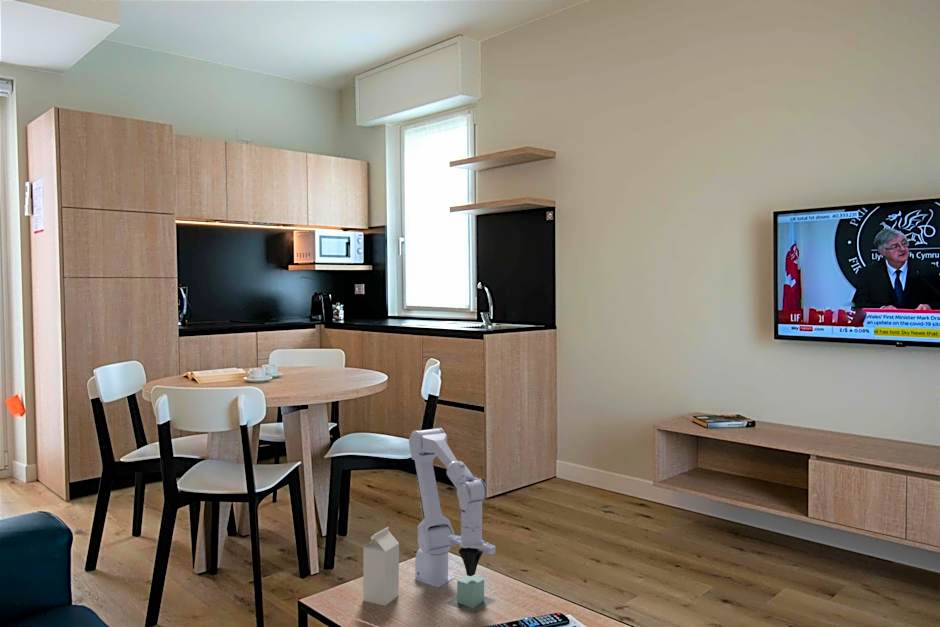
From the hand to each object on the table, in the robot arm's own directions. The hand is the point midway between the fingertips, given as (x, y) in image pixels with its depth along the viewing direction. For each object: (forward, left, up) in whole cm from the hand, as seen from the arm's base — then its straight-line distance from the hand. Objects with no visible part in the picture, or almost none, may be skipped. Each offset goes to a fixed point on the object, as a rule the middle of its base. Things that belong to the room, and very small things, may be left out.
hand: (471, 574), depth 185 cm
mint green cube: (0, 0, -7) cm, 7 cm away
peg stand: (0, 0, -8) cm, 8 cm away
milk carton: (-21, -13, -8) cm, 26 cm away
